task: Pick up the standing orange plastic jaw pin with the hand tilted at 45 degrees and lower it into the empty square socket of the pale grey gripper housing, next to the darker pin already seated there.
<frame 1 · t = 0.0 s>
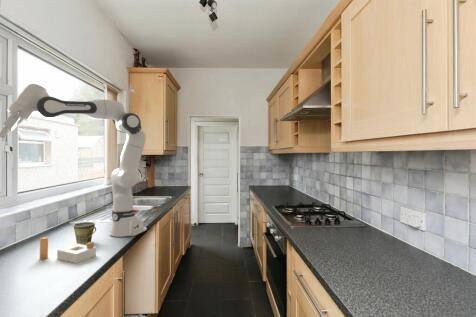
hand: (1, 136, 130), 54 cm above the counter, tool tilted 30°, fingers open, 8 cm apart
jaw pin: (43, 258, 124), on the counter
ceramic cup: (86, 243, 146), on the counter
housing: (76, 257, 126), on the counter
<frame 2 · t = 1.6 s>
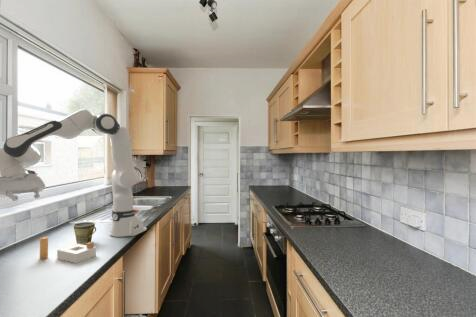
hand: (27, 198, 129), 26 cm above the counter, tool tilted 45°, fingers open, 8 cm apart
nothing on the counter moved.
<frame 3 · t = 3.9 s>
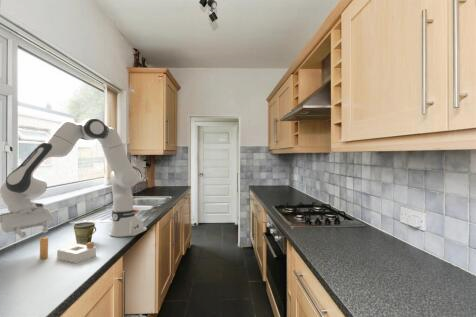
hand: (35, 234, 126), 10 cm above the counter, tool tilted 45°, fingers open, 8 cm apart
nothing on the counter moved.
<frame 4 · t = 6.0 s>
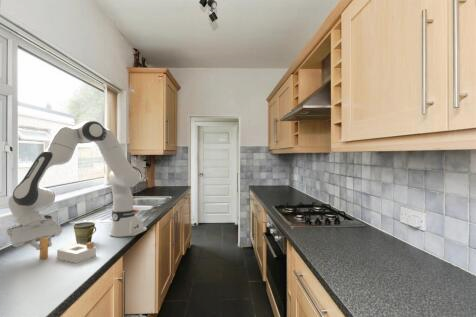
hand: (44, 247, 124), 5 cm above the counter, tool tilted 45°, fingers closed on jaw pin, 3 cm apart
jaw pin: (43, 258, 124), on the counter, touching gripper
everything else where it was.
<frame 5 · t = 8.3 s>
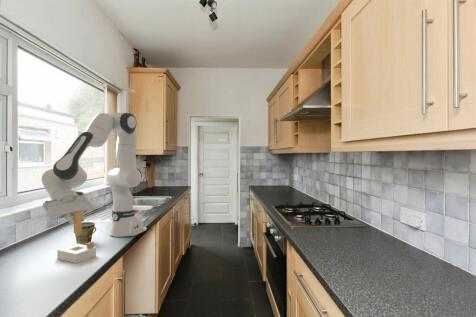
hand: (78, 221, 126), 16 cm above the counter, tool tilted 45°, fingers closed on jaw pin, 3 cm apart
jaw pin: (77, 232, 126), point 11 cm above the counter, touching gripper
everything else where it was.
when the fingers open (7 cm above the counter, at t = 10.6 s): jaw pin drops 2 cm, resting in housing.
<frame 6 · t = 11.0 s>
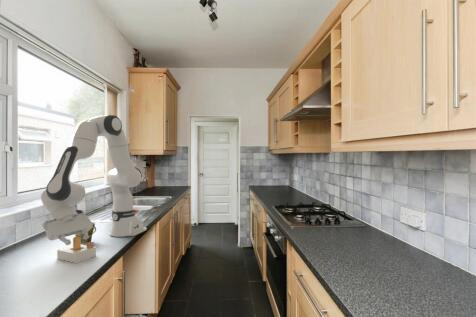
hand: (78, 241, 126), 7 cm above the counter, tool tilted 45°, fingers open, 8 cm apart
jaw pin: (76, 257, 126), resting in housing
everything else where it was.
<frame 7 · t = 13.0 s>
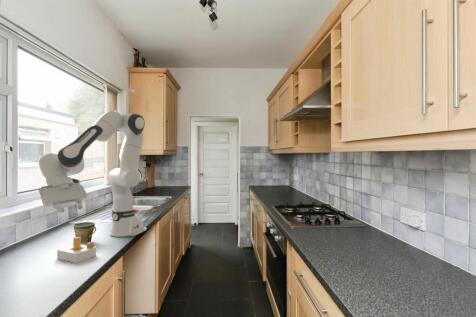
hand: (71, 210, 128), 21 cm above the counter, tool tilted 35°, fingers open, 8 cm apart
nothing on the counter moved.
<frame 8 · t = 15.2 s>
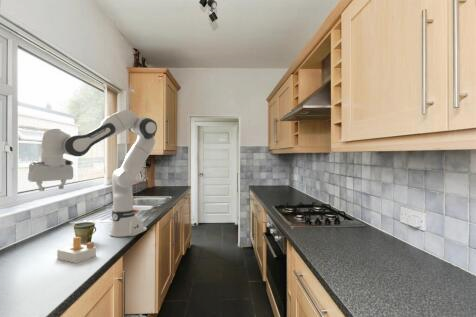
hand: (51, 189, 136), 29 cm above the counter, tool pointing down, fingers open, 8 cm apart
nothing on the counter moved.
at the end: jaw pin 0.1 cm off-centre on the housing, point 0.0 cm above the housing's base; jaw pin tilted 0°; the gripper is holding nothing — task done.
